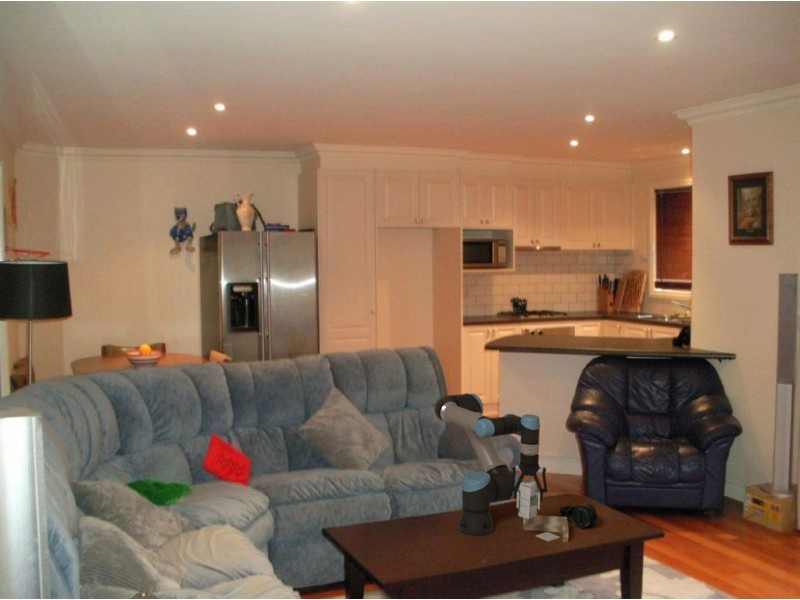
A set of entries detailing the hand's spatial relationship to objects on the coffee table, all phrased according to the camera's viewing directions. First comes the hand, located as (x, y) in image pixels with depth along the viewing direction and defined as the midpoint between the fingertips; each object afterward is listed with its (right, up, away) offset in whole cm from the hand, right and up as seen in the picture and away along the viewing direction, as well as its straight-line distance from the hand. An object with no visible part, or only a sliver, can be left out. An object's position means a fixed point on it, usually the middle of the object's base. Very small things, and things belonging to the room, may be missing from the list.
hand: (528, 507), depth 306 cm
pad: (+8, -13, +2) cm, 15 cm away
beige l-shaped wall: (+8, -13, +4) cm, 15 cm away
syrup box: (0, -4, 0) cm, 4 cm away
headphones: (+26, -12, +19) cm, 34 cm away
